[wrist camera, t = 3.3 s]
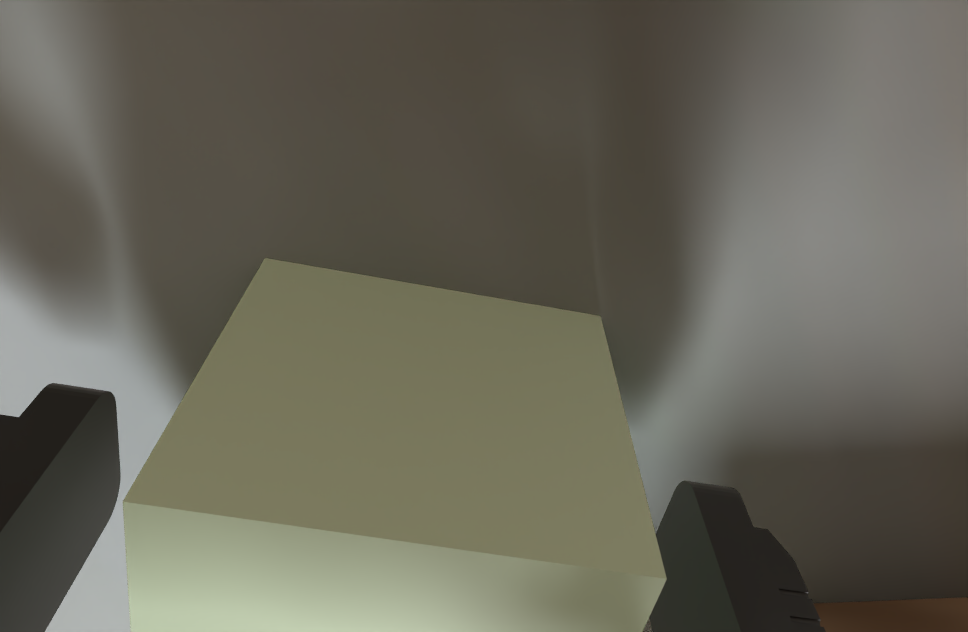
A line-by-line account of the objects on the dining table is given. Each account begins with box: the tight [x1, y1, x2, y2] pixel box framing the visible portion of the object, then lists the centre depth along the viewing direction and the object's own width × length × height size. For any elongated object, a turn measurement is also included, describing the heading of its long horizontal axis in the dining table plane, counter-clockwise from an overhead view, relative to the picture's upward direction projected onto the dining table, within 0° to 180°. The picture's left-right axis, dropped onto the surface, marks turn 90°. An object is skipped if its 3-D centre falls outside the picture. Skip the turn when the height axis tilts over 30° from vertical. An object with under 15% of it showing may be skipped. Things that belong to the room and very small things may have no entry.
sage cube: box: [123, 258, 667, 632], centre depth 10 cm, size 5×5×5 cm
